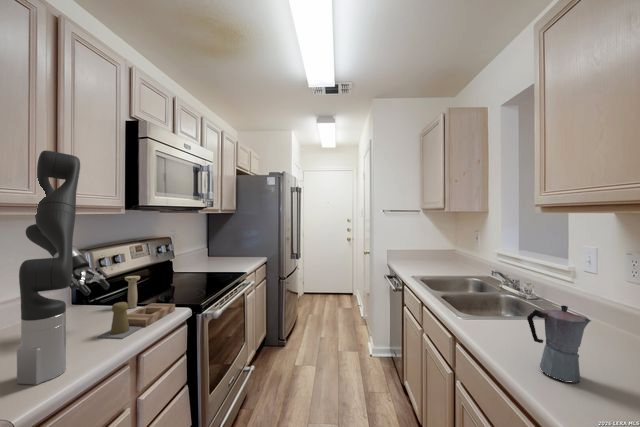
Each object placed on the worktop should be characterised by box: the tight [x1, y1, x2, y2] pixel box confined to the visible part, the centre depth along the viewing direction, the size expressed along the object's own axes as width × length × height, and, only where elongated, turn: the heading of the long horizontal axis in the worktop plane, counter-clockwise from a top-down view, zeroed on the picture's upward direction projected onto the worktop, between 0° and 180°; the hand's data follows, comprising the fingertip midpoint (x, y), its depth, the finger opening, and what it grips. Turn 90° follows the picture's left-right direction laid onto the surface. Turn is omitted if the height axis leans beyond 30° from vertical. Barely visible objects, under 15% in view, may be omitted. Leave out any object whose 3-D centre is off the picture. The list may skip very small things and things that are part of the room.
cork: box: [110, 301, 130, 335], centre depth 111 cm, size 6×6×11 cm
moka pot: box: [526, 305, 592, 382], centre depth 82 cm, size 10×15×20 cm, turn 81°
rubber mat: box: [96, 326, 143, 340], centre depth 111 cm, size 10×10×1 cm
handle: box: [124, 275, 141, 309], centre depth 140 cm, size 5×6×15 cm
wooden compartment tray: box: [127, 302, 176, 328], centre depth 127 cm, size 20×12×3 cm, turn 175°
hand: (98, 290), depth 112 cm, fingers open, 8 cm apart
